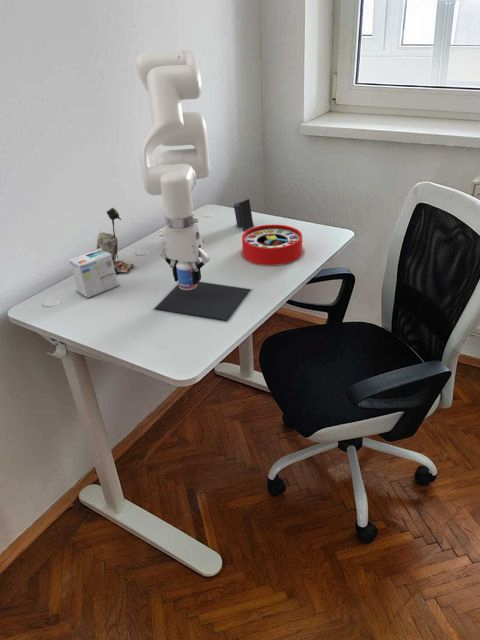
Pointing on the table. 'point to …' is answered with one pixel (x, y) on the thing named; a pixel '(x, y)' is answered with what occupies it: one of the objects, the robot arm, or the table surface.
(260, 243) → the toy clock
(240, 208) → the speaker
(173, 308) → the desk mat
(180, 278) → the pill bottle
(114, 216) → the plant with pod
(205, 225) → the table surface
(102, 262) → the light bulb box
